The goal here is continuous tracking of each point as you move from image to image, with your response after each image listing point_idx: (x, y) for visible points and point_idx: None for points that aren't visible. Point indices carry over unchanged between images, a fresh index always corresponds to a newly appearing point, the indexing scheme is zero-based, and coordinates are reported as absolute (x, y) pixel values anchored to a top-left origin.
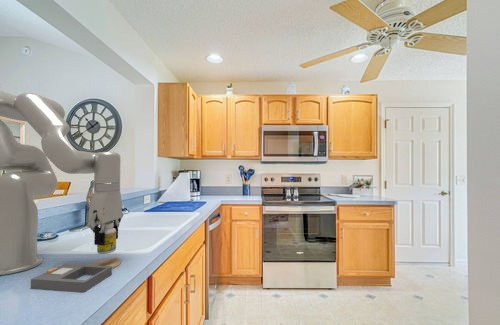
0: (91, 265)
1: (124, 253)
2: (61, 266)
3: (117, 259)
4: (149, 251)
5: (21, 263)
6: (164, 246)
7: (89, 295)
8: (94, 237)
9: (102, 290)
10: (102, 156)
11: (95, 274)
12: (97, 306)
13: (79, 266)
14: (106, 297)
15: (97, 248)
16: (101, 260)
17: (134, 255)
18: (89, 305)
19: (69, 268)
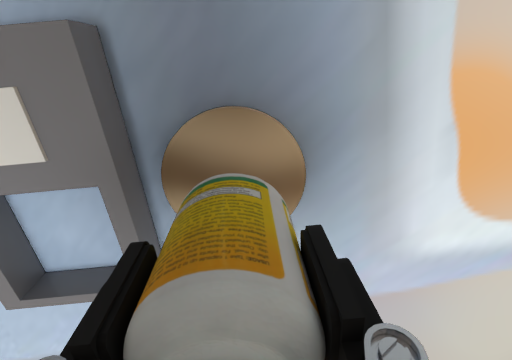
0: (124, 210)
1: (397, 150)
2: (27, 43)
3: (289, 199)
4: (422, 249)
5: None
6: (489, 271)
7: (33, 307)
8: (102, 288)
9: (73, 316)
10: None
11: (70, 296)
12: (16, 357)
13: (86, 161)
14: (55, 347)
15: (178, 212)
16: (262, 127)
17: (368, 219)
18: (6, 340)
19: (34, 139)
